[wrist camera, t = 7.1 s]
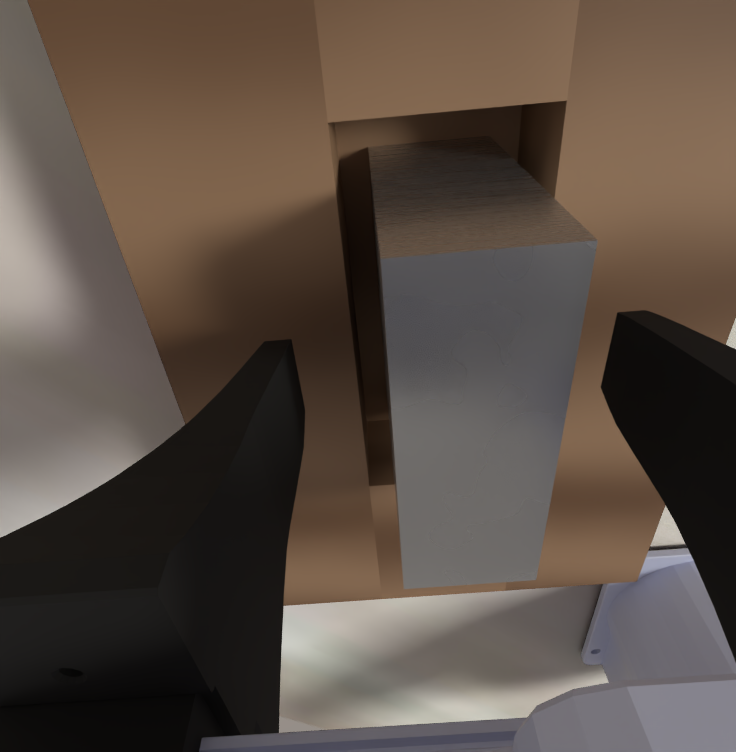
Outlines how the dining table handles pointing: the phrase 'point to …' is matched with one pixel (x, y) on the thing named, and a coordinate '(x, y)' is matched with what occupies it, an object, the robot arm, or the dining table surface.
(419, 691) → the dining table surface
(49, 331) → the dining table surface
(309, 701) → the dining table surface
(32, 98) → the dining table surface
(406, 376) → the tall grey cuboid
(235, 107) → the well
